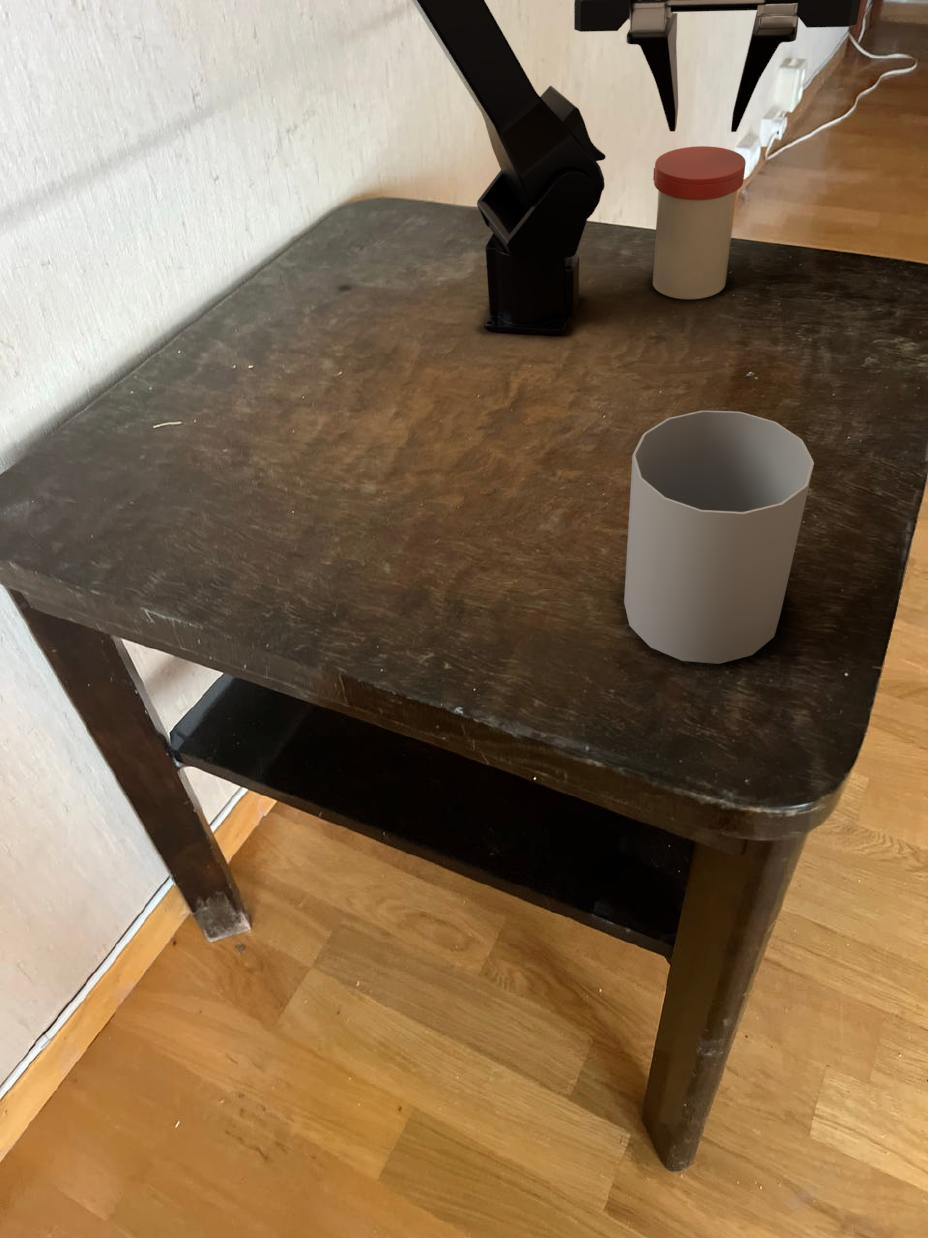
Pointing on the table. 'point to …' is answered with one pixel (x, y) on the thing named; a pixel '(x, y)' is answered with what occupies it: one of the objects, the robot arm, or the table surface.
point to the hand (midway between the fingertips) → (703, 129)
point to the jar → (692, 245)
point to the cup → (713, 533)
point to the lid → (699, 172)
